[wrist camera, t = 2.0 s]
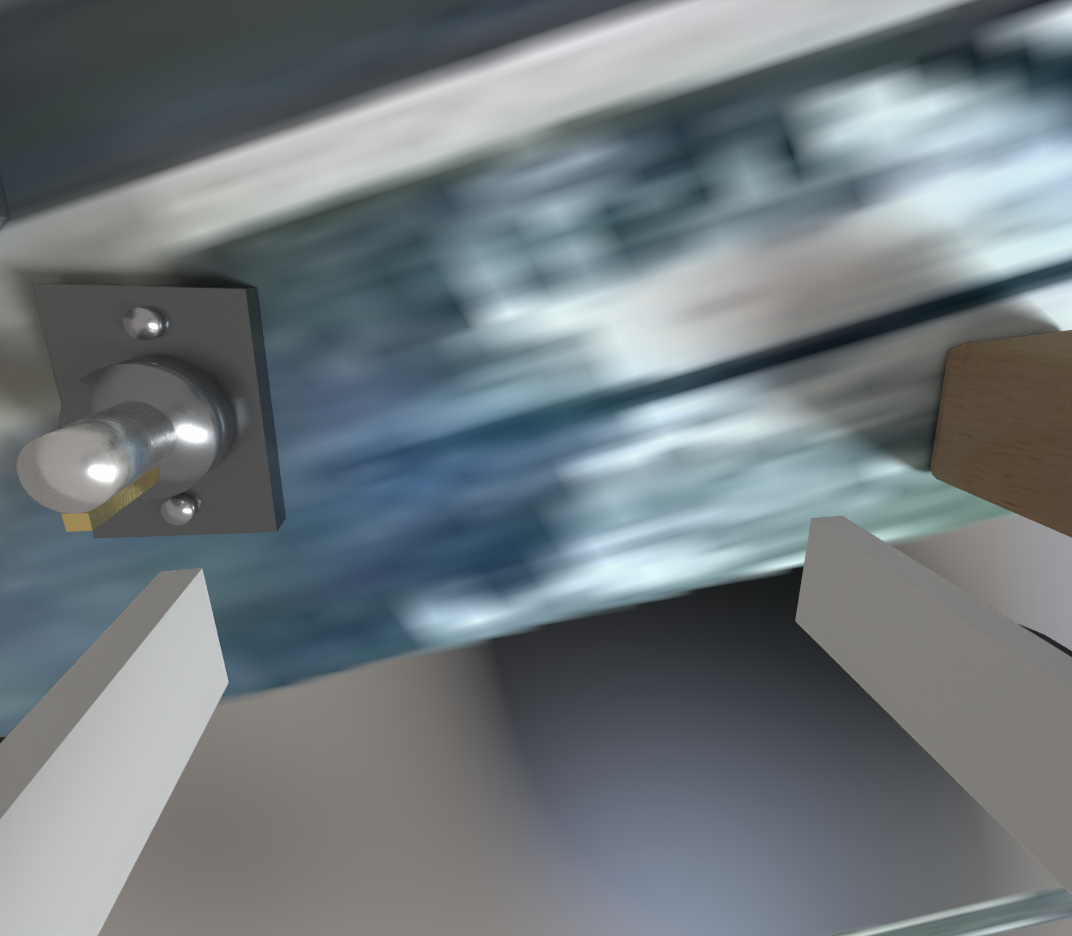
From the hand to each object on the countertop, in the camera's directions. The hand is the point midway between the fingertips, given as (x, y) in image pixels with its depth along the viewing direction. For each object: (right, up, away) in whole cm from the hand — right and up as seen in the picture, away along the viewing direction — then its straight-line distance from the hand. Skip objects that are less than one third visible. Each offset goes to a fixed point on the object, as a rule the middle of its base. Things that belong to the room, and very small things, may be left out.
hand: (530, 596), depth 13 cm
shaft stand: (-20, +6, +21) cm, 30 cm away
